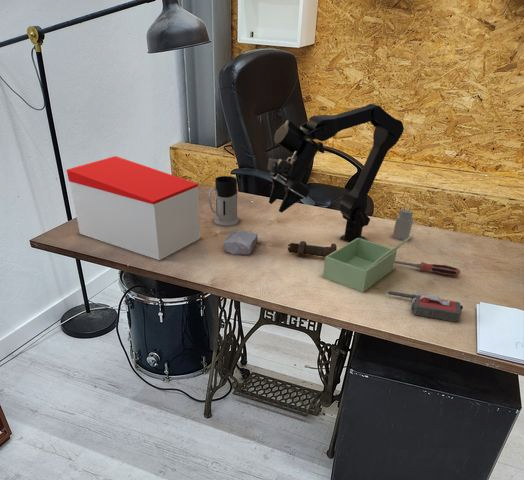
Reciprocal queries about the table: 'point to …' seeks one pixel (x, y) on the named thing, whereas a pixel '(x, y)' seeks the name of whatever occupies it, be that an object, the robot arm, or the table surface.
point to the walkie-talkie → (433, 306)
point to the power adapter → (403, 224)
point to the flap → (390, 252)
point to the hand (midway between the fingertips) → (275, 207)
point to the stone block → (240, 242)
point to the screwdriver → (434, 268)
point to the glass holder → (225, 200)
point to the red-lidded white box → (135, 206)
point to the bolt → (311, 249)
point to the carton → (358, 264)
